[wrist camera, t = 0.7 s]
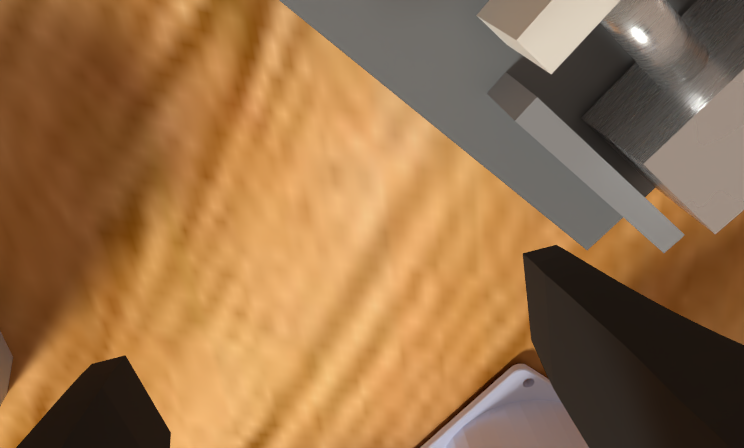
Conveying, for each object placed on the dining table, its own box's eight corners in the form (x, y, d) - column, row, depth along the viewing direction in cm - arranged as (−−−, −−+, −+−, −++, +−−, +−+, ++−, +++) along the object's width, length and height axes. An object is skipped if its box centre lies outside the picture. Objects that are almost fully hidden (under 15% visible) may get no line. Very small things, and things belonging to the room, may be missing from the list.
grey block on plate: (776, 59, 17) (879, 93, 14) (646, 180, 19) (715, 234, 16) (655, -100, 15) (752, -100, 12) (516, 55, 16) (569, 91, 13)
